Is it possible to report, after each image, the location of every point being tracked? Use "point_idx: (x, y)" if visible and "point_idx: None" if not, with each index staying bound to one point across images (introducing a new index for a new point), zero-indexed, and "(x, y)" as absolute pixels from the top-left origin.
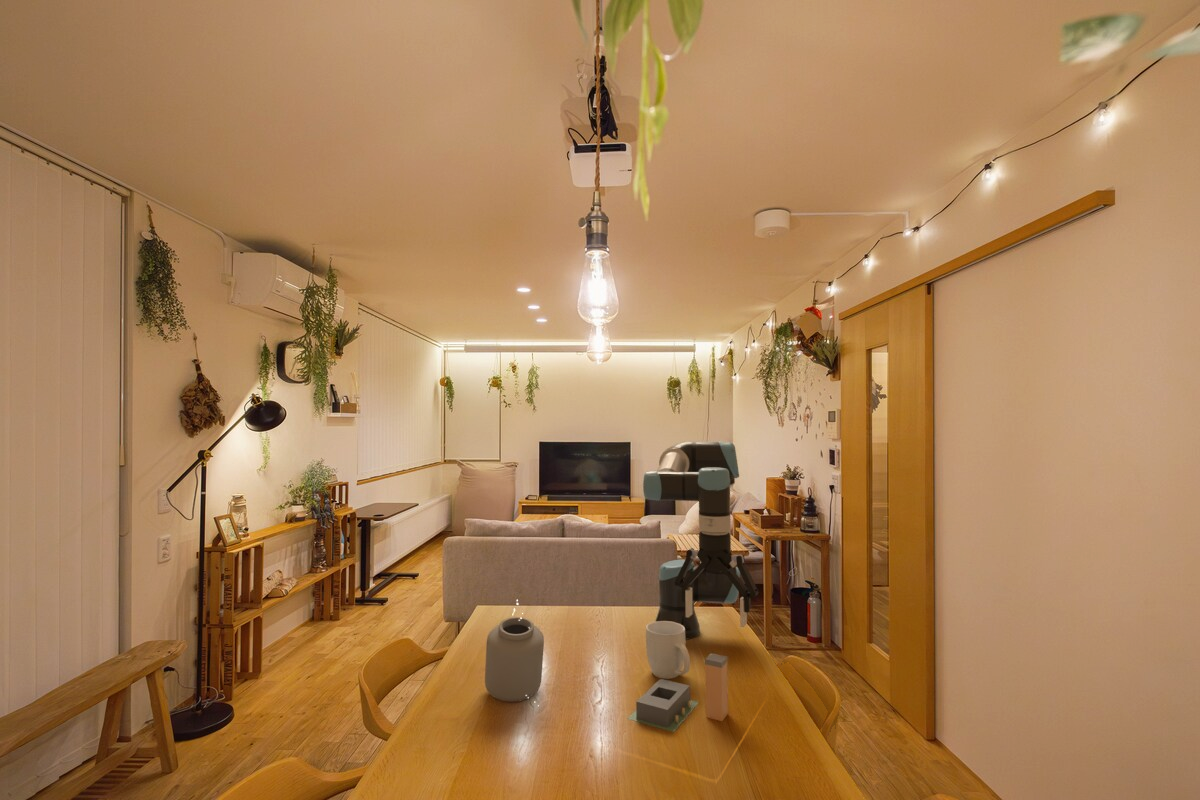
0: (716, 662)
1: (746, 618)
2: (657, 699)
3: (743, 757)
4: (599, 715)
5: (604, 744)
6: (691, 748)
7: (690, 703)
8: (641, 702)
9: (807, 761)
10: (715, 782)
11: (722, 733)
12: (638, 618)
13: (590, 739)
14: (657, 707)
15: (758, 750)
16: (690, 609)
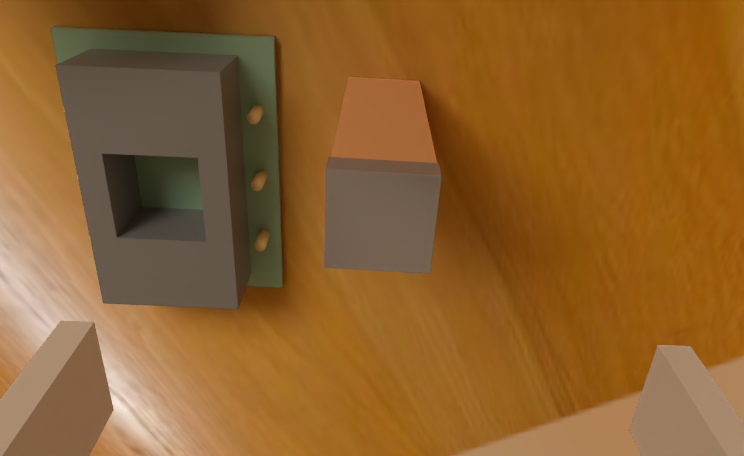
0: (397, 269)
1: (715, 390)
2: (162, 256)
3: (522, 307)
4: (3, 283)
5: (132, 402)
6: (363, 327)
7: (260, 117)
8: (124, 302)
9: (721, 249)
10: (468, 425)
11: None
12: None
13: None
14: (195, 306)
15: (564, 256)
16: (73, 414)
